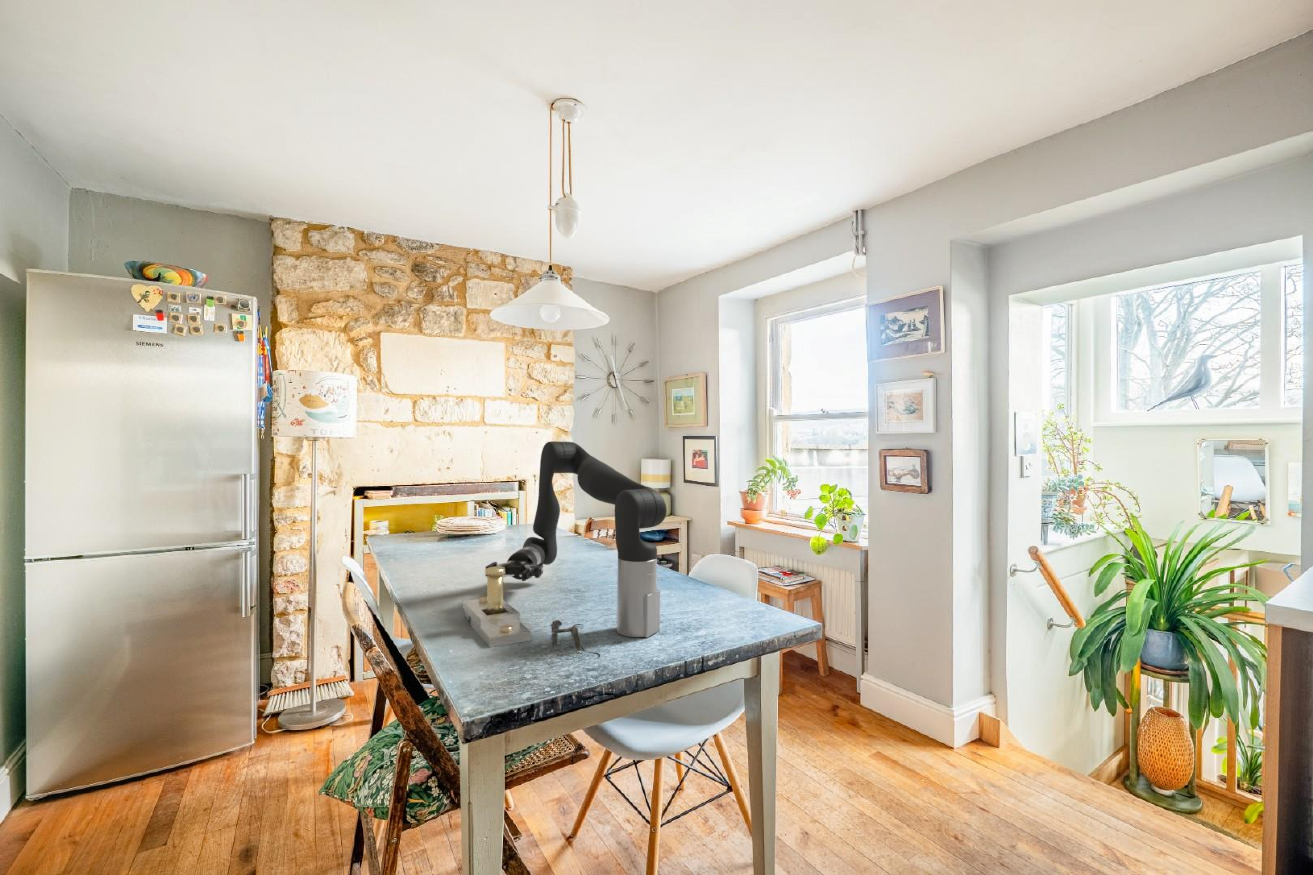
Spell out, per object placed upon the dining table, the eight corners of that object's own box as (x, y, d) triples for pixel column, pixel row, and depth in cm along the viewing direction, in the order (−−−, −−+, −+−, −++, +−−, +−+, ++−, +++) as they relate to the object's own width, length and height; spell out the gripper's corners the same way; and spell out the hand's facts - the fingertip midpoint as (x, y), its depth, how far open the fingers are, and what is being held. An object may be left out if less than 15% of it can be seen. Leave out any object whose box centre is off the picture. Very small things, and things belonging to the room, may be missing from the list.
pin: (508, 626, 138) (509, 567, 138) (495, 632, 134) (495, 571, 134) (494, 623, 140) (495, 565, 140) (481, 628, 136) (481, 569, 136)
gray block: (530, 640, 129) (530, 618, 129) (490, 647, 124) (490, 625, 124) (498, 611, 149) (499, 593, 149) (463, 616, 145) (463, 597, 145)
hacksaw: (552, 625, 141) (552, 619, 141) (594, 623, 143) (594, 617, 143) (549, 663, 117) (549, 656, 117) (600, 661, 119) (600, 653, 119)
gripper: (499, 548, 162) (478, 561, 146) (550, 549, 161) (534, 562, 145) (499, 575, 162) (478, 590, 146) (549, 576, 161) (534, 592, 145)
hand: (506, 576), depth 145 cm, fingers open, 8 cm apart
